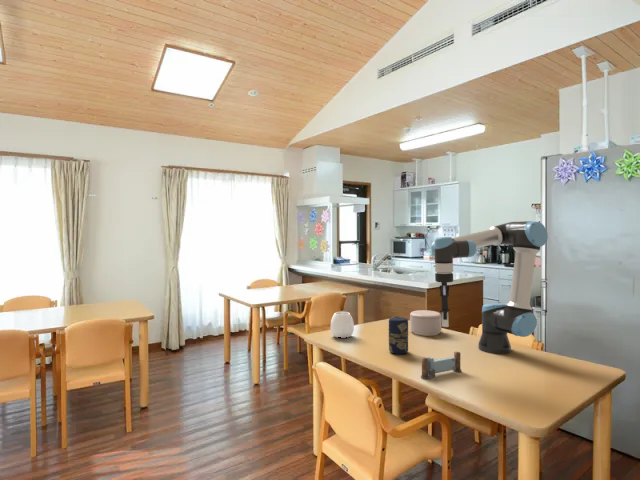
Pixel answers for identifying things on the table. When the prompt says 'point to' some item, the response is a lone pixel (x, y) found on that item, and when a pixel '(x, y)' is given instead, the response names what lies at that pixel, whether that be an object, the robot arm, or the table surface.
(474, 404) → the table surface
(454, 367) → the gate
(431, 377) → the gateposts
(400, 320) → the canister
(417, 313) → the container
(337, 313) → the cup
